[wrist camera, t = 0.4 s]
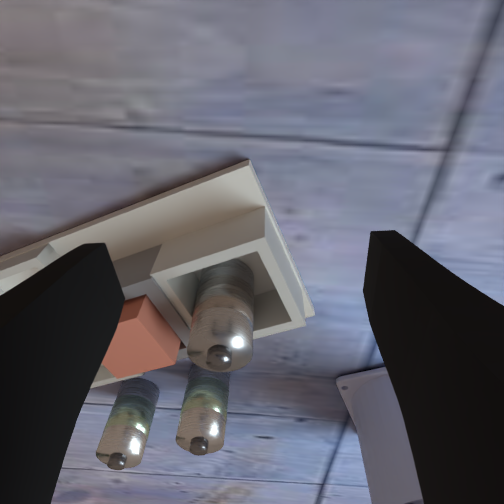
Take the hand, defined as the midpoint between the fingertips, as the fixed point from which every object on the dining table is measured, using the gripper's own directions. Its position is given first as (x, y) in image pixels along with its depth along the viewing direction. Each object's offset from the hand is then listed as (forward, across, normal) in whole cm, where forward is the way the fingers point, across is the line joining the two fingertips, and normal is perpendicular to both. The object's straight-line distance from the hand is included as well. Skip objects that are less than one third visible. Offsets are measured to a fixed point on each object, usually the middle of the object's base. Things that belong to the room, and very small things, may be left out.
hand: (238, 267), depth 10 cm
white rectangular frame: (+10, +7, +9) cm, 15 cm away
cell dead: (+9, +2, +8) cm, 12 cm away
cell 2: (+10, +5, +18) cm, 21 cm away
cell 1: (+10, +11, +20) cm, 25 cm away
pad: (+8, +7, +9) cm, 14 cm away
